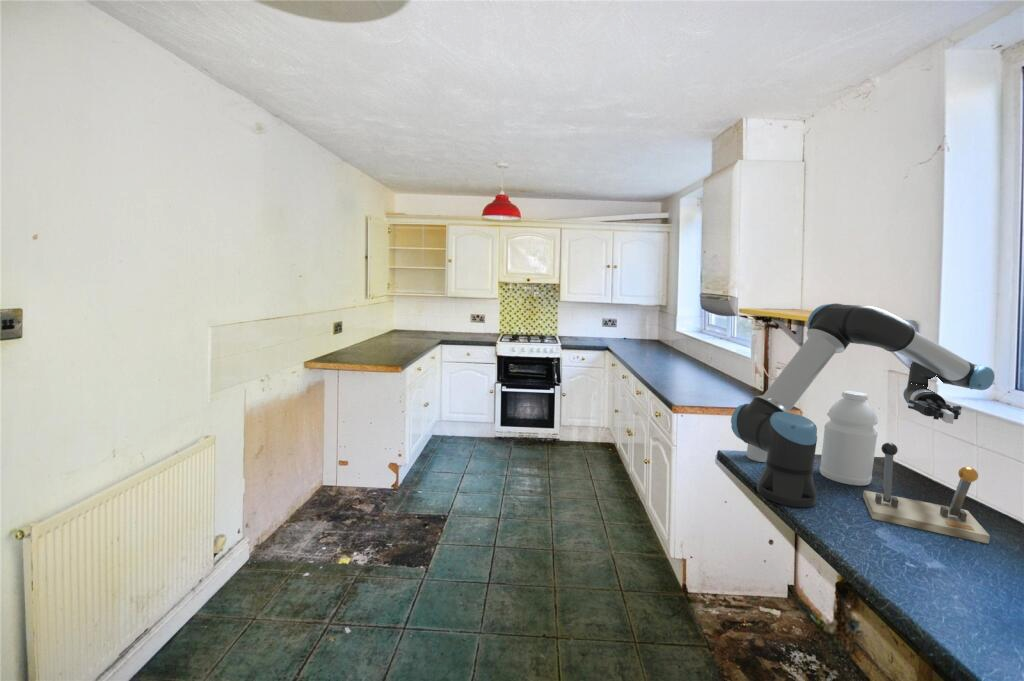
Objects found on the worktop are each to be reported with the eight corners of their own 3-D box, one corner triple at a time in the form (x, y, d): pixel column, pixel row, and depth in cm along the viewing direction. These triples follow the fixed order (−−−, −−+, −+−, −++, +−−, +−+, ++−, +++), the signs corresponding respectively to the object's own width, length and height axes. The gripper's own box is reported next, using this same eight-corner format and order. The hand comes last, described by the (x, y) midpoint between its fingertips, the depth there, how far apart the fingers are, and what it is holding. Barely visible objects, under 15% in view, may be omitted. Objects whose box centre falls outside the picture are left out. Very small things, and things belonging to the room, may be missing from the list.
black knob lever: (879, 500, 132) (883, 441, 136) (877, 500, 136) (880, 442, 139) (896, 503, 131) (899, 443, 134) (893, 503, 134) (896, 444, 137)
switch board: (872, 518, 129) (874, 504, 128) (862, 496, 143) (864, 483, 142) (988, 543, 118) (991, 528, 117) (966, 517, 132) (968, 503, 131)
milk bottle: (773, 464, 167) (780, 407, 165) (749, 461, 169) (755, 405, 166) (766, 456, 175) (772, 401, 172) (743, 454, 176) (749, 400, 174)
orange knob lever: (944, 517, 127) (962, 472, 119) (942, 507, 129) (959, 462, 121) (963, 521, 125) (982, 476, 117) (959, 510, 128) (978, 465, 120)
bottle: (833, 467, 167) (843, 386, 163) (879, 481, 155) (891, 395, 151) (810, 473, 160) (820, 389, 156) (857, 489, 148) (868, 399, 144)
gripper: (952, 417, 154) (979, 436, 133) (900, 410, 160) (918, 427, 139) (955, 394, 153) (983, 409, 132) (903, 388, 159) (922, 401, 138)
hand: (950, 418), depth 136 cm, fingers closed
